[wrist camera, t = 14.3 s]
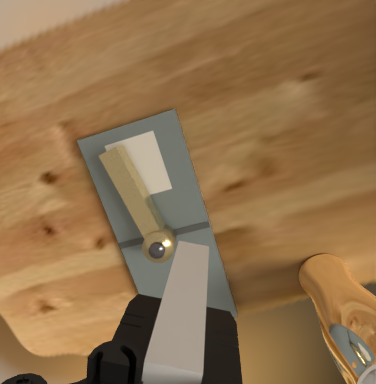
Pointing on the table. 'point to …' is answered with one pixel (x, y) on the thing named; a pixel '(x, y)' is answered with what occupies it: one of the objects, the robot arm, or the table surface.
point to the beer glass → (343, 316)
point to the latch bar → (140, 205)
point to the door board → (158, 201)
